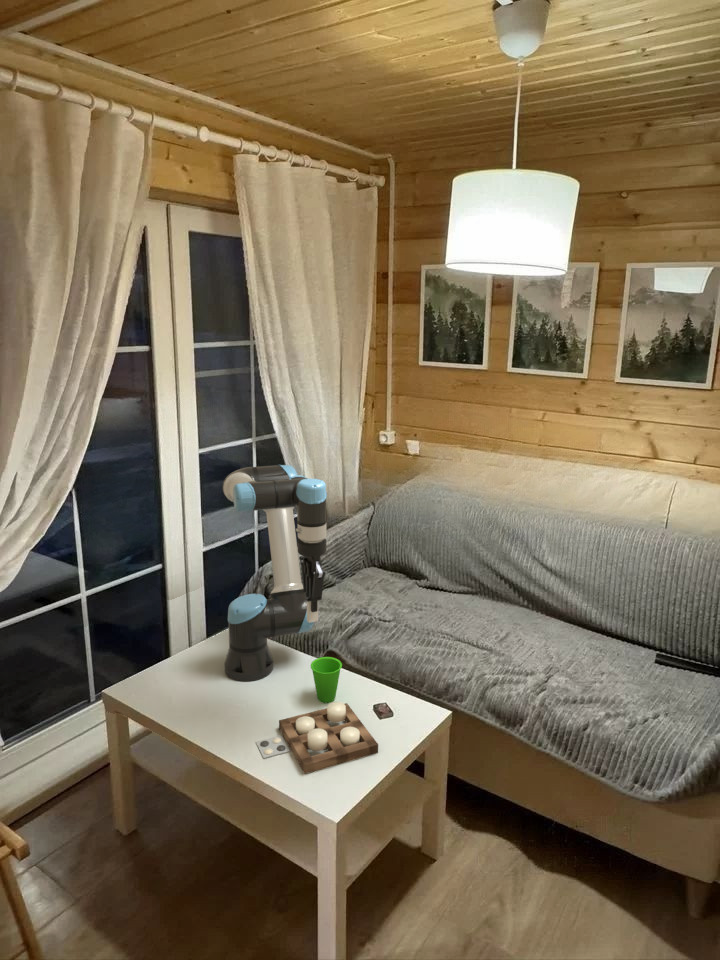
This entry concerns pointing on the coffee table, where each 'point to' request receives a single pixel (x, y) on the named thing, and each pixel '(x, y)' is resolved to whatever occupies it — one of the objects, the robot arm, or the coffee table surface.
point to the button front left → (349, 736)
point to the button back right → (304, 725)
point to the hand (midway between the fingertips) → (312, 620)
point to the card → (272, 747)
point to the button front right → (317, 739)
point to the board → (334, 746)
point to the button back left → (336, 712)
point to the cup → (326, 677)
